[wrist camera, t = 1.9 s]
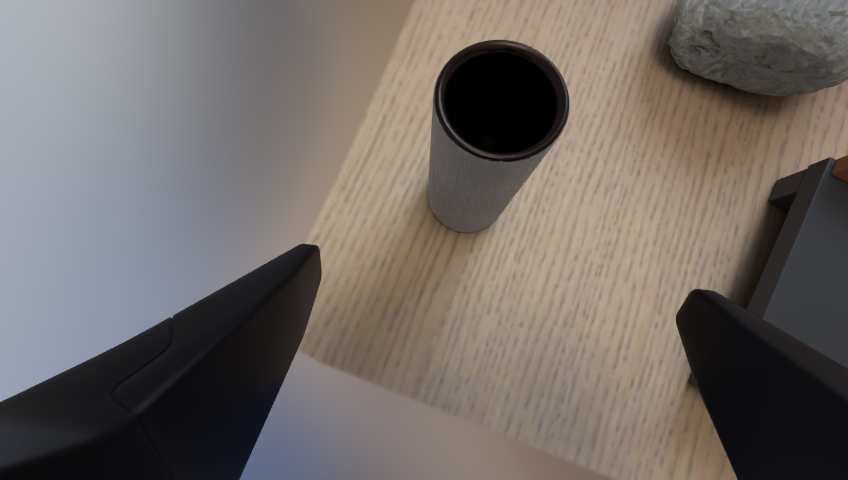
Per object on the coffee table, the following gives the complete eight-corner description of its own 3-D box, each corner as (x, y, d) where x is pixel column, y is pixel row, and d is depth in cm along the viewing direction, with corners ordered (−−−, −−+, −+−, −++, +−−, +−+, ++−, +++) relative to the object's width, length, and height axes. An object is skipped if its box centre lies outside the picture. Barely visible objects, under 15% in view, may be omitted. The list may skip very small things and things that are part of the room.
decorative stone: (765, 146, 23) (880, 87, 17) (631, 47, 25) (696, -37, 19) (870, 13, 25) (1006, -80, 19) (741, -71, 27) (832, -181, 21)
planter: (456, 146, 23) (484, 14, 13) (518, 188, 23) (596, 84, 13) (412, 204, 22) (405, 110, 12) (475, 248, 22) (522, 189, 12)
